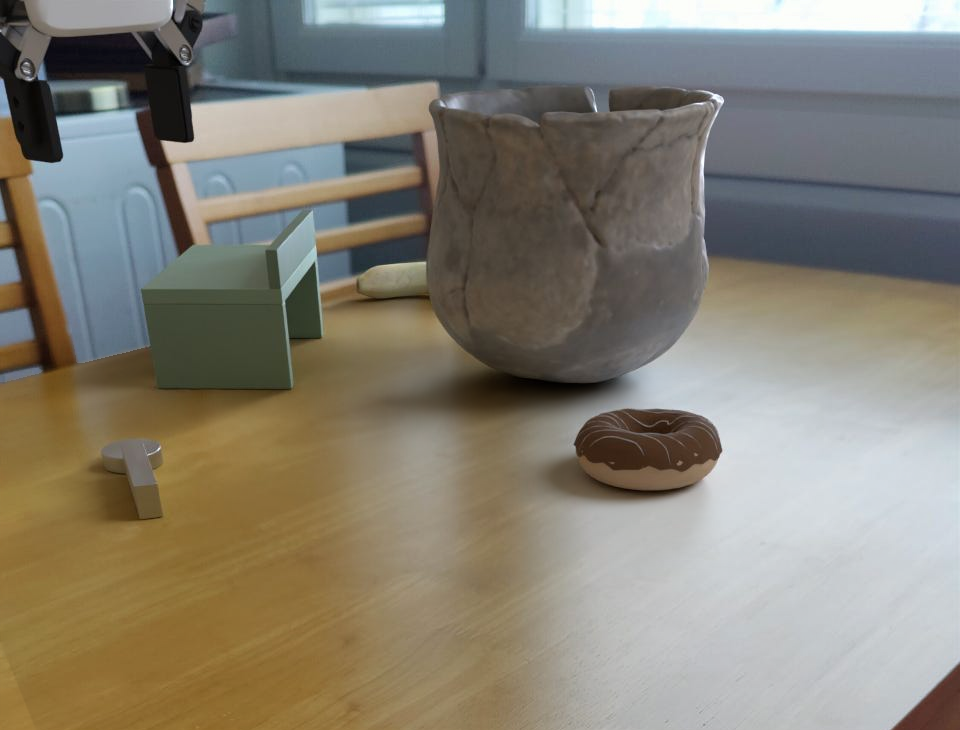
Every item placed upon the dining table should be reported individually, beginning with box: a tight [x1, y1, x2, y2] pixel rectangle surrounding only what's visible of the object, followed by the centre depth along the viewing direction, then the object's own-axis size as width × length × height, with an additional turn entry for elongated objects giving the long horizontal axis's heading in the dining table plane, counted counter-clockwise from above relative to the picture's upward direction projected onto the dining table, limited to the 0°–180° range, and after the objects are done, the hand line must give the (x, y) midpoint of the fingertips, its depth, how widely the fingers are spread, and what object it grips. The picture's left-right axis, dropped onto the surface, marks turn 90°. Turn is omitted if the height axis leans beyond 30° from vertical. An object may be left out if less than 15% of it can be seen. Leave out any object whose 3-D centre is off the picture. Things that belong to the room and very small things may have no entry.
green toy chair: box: [140, 209, 325, 390], centre depth 110 cm, size 12×18×11 cm, turn 177°
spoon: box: [100, 438, 164, 520], centre depth 88 cm, size 14×4×2 cm, turn 19°
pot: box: [425, 85, 725, 384], centre depth 103 cm, size 25×24×21 cm
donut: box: [572, 407, 723, 491], centre depth 88 cm, size 11×11×4 cm
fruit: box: [355, 261, 430, 299], centre depth 131 cm, size 7×15×3 cm, turn 76°
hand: (111, 150), depth 73 cm, fingers open, 9 cm apart
